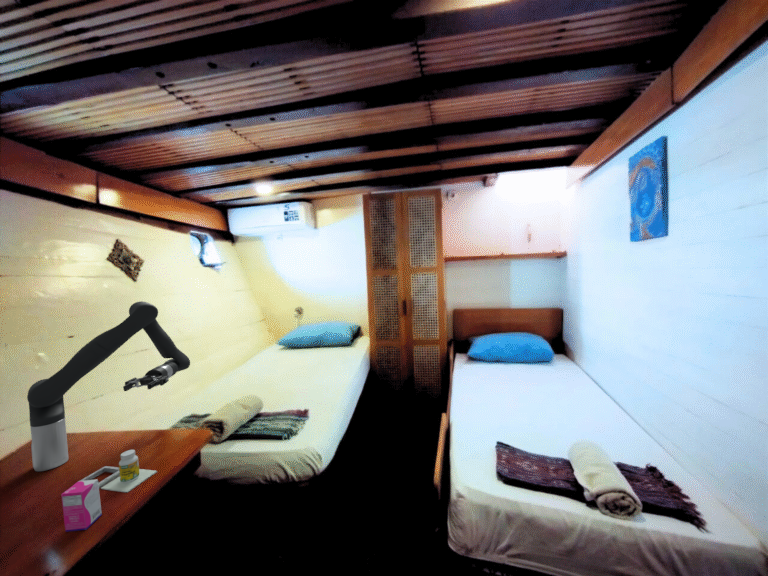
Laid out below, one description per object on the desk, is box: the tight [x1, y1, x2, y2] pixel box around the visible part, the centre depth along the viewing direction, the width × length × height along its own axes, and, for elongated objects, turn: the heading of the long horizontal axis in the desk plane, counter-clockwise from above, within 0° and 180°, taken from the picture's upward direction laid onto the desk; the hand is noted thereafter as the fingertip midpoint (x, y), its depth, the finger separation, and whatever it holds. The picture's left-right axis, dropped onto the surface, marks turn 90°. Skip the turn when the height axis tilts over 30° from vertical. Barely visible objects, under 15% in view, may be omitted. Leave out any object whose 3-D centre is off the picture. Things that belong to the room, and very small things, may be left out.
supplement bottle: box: [118, 449, 140, 483], centre depth 111 cm, size 5×5×10 cm
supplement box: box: [60, 478, 103, 533], centre depth 92 cm, size 6×6×12 cm
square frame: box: [79, 465, 120, 489], centre depth 113 cm, size 9×9×2 cm
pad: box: [100, 468, 158, 494], centre depth 112 cm, size 11×11×1 cm
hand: (136, 387), depth 125 cm, fingers open, 8 cm apart
